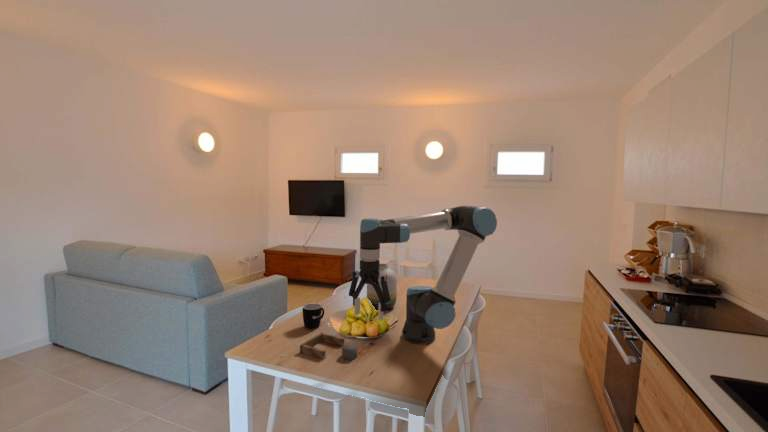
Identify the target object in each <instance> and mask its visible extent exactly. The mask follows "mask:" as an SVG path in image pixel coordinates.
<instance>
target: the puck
mask: <svg viewBox="0 0 768 432" xmlns="http://www.w3.org/2000/svg"><path fill="white" fill-rule="evenodd" d="M341 350H342V351H341V358H342V359H344V360H346V361H353V360H355V359H356V358H357V357H358V346H357V345H354V344H346V345H345V344H344V346H341Z"/></svg>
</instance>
